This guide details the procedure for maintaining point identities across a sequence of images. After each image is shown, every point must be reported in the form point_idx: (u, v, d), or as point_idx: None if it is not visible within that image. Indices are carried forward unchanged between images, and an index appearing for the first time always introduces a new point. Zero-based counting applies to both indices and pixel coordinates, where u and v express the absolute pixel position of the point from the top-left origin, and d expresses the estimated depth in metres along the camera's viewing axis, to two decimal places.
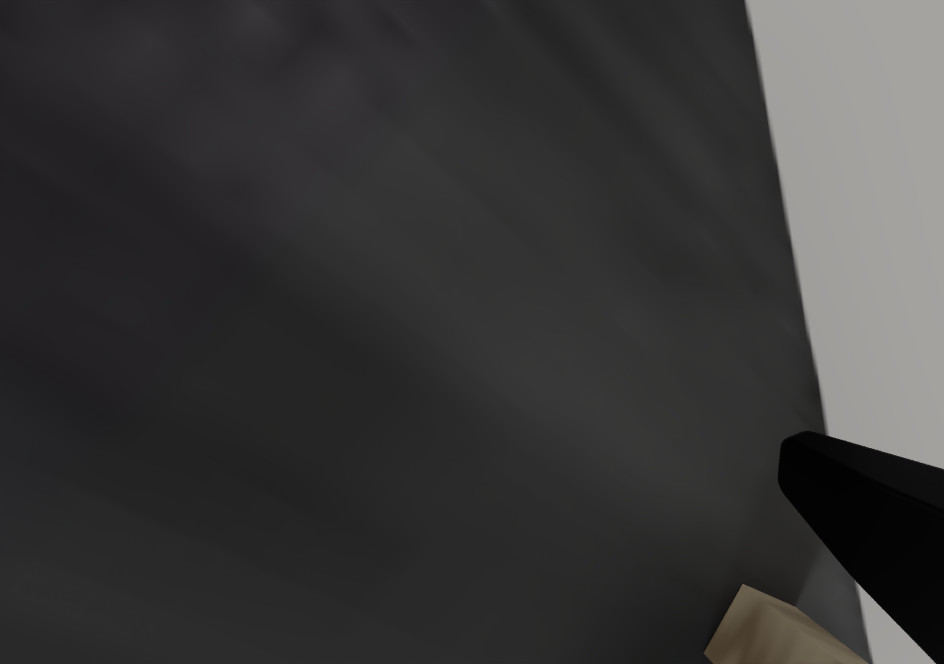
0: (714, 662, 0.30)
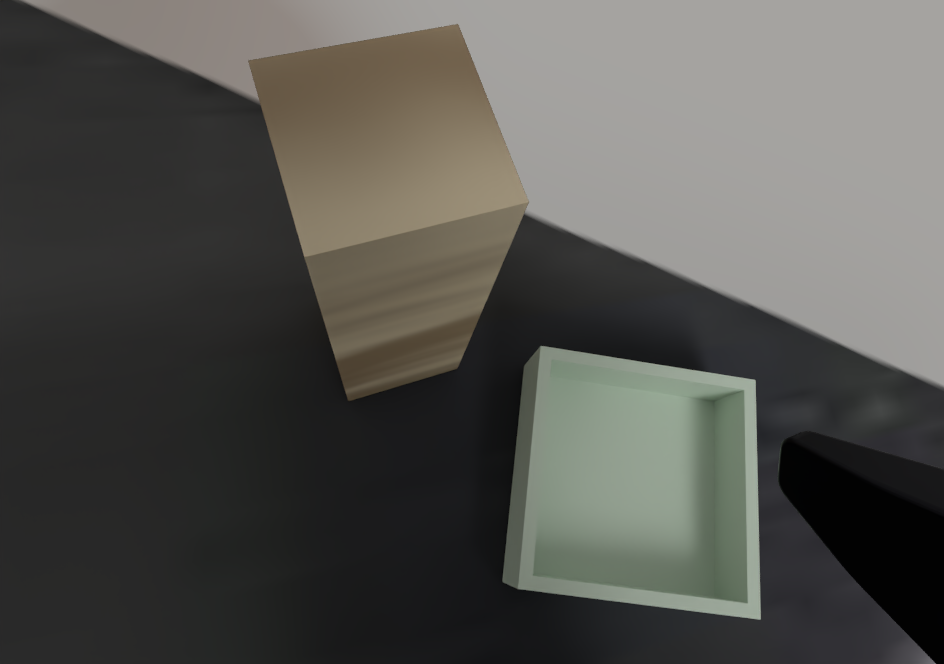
0: (346, 394, 0.21)
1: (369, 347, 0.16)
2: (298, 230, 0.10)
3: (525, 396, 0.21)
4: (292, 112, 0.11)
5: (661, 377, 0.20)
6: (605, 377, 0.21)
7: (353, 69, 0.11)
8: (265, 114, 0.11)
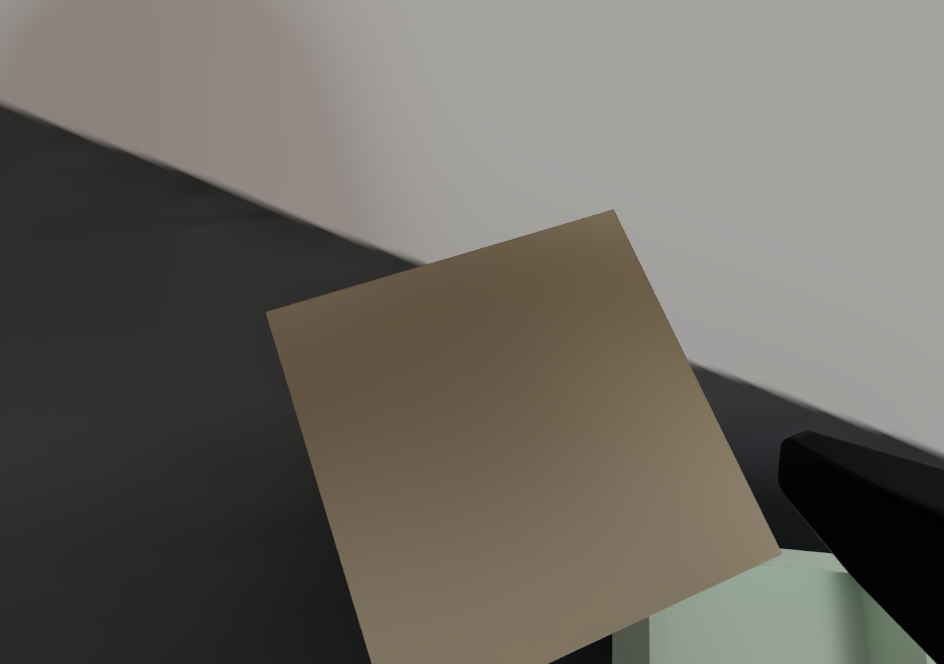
0: None
1: None
2: None
3: None
4: (350, 411, 0.06)
5: (807, 568, 0.16)
6: None
7: (450, 313, 0.06)
8: (301, 419, 0.06)
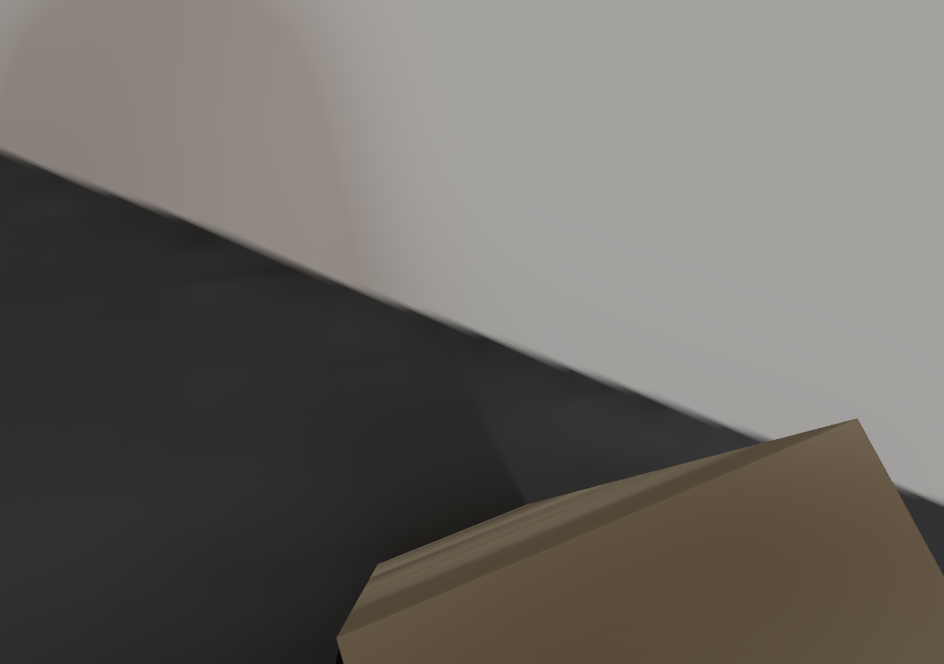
0: None
1: None
2: None
3: None
4: None
5: None
6: None
7: (633, 622, 0.04)
8: None
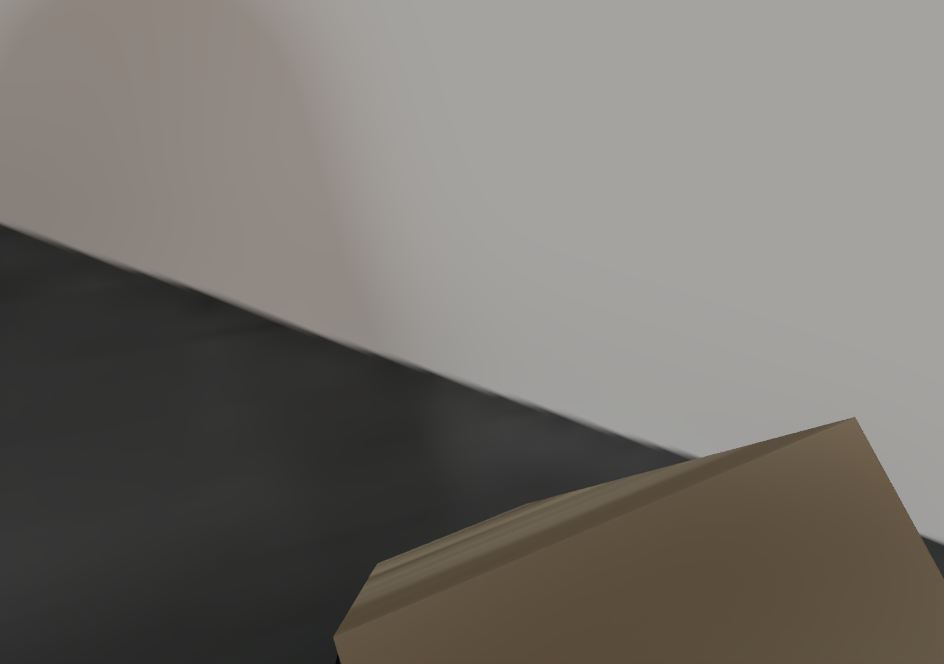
0: None
1: None
2: None
3: None
4: None
5: None
6: None
7: (630, 621, 0.04)
8: None
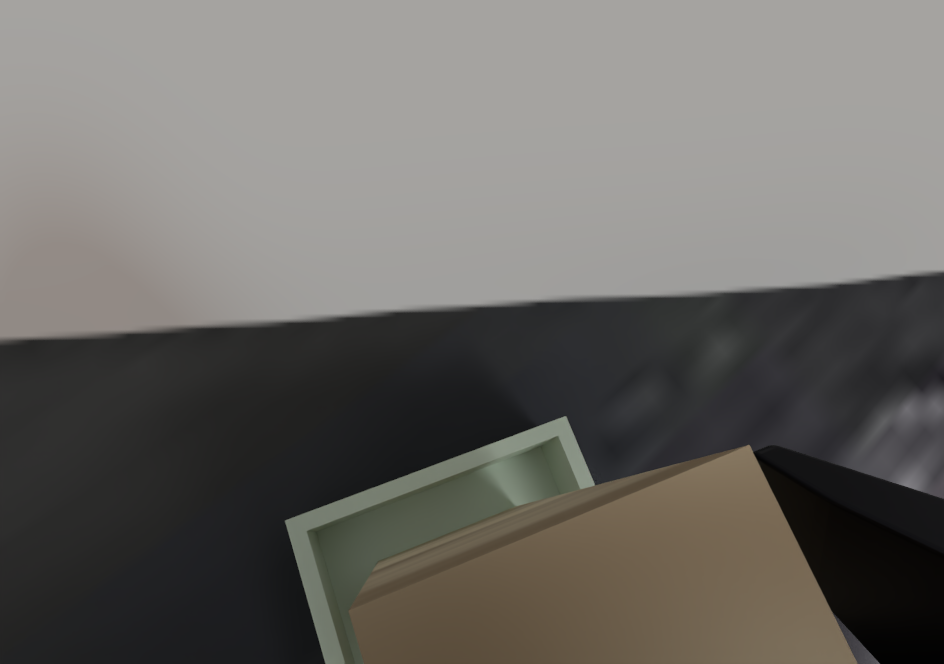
0: None
1: None
2: None
3: None
4: None
5: (455, 475, 0.15)
6: (395, 499, 0.16)
7: (569, 599, 0.05)
8: None
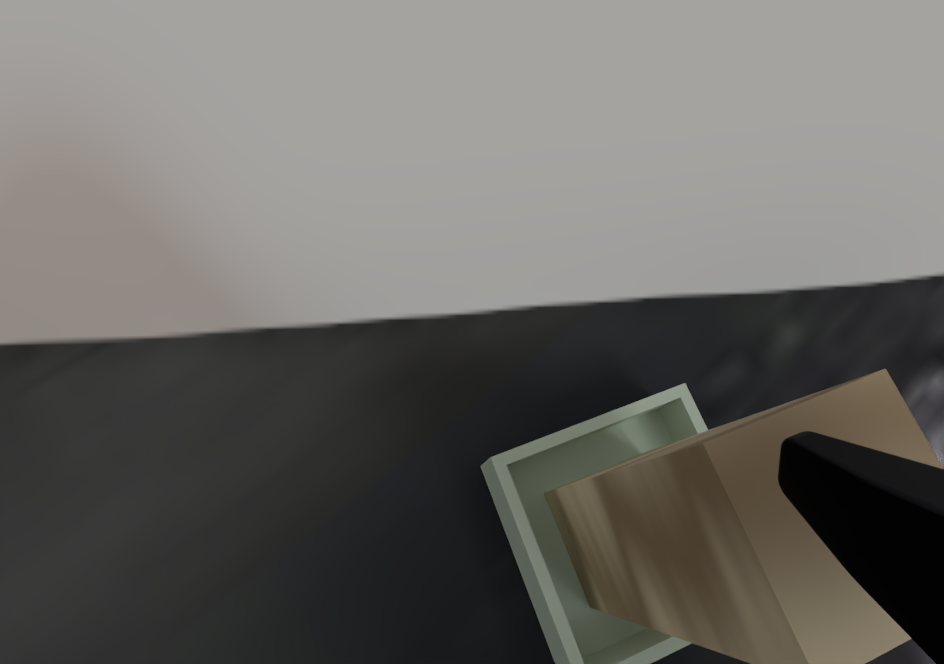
0: (595, 607, 0.20)
1: None
2: (804, 653, 0.10)
3: (497, 499, 0.21)
4: (761, 503, 0.10)
5: (607, 425, 0.21)
6: (558, 445, 0.22)
7: None
8: (734, 508, 0.10)
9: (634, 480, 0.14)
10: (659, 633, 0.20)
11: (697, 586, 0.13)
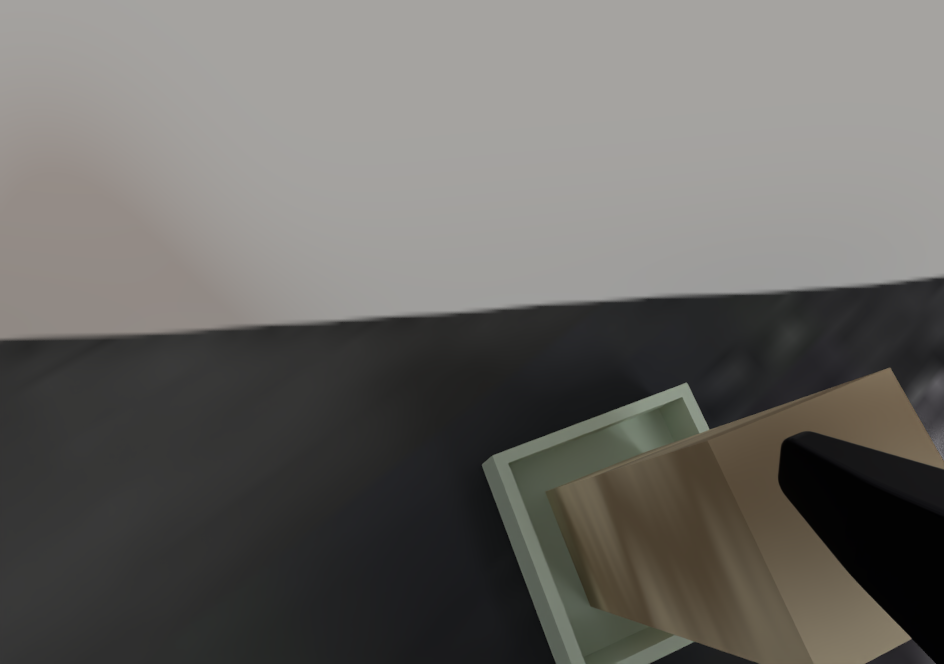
0: (596, 606, 0.20)
1: None
2: (808, 651, 0.10)
3: (498, 498, 0.21)
4: (765, 501, 0.10)
5: (609, 424, 0.21)
6: (560, 444, 0.22)
7: None
8: (739, 506, 0.10)
9: (637, 478, 0.14)
10: (660, 632, 0.20)
11: (700, 585, 0.13)
